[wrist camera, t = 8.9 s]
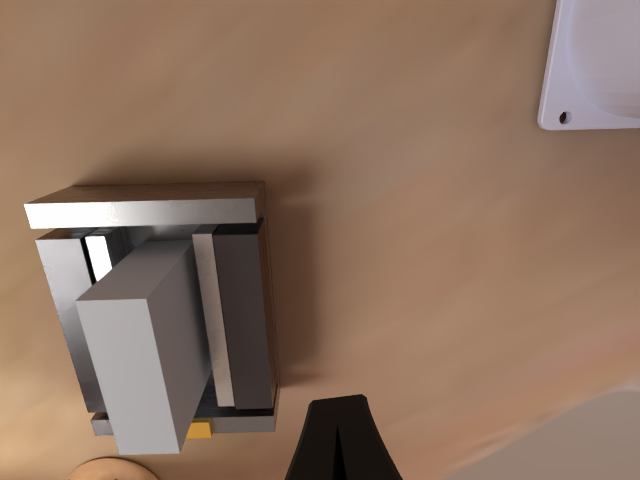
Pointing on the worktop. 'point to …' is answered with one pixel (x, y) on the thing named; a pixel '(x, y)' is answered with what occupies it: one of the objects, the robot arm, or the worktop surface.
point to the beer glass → (111, 470)
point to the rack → (214, 277)
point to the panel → (149, 345)
